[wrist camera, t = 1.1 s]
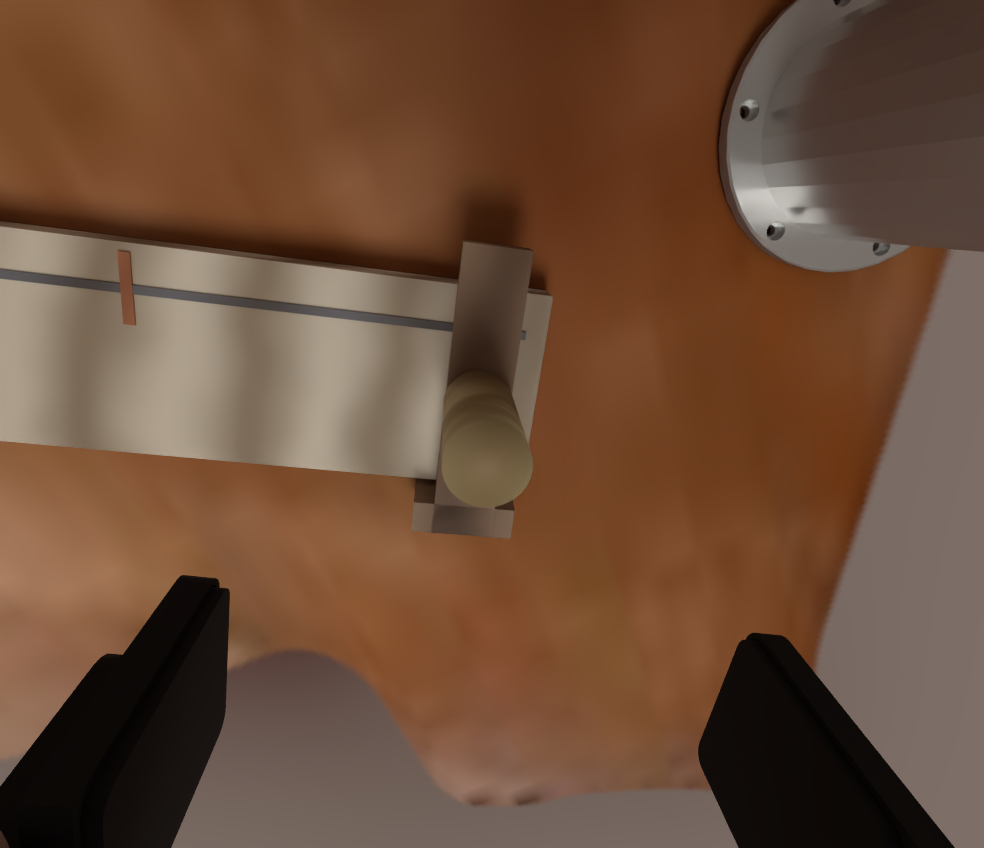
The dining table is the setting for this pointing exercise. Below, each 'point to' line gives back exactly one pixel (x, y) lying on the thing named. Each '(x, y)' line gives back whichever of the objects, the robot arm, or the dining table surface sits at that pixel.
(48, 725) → the robot arm
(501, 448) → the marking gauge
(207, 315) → the birch board
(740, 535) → the dining table surface
